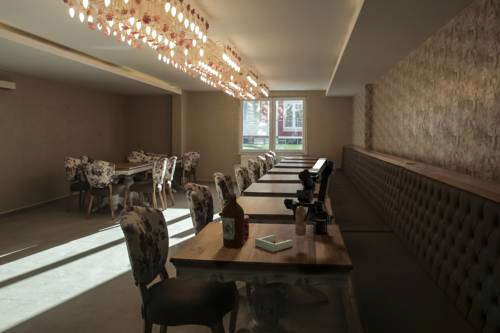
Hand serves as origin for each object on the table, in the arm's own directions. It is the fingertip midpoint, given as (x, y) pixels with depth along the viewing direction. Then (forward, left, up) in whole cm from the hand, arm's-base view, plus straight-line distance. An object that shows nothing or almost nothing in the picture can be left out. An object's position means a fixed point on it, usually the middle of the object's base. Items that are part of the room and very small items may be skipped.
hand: (299, 220), depth 176 cm
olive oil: (+27, -16, -14) cm, 34 cm away
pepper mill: (-1, -1, -7) cm, 7 cm away
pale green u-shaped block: (+8, -9, -13) cm, 18 cm away
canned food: (+19, -28, -14) cm, 37 cm away
